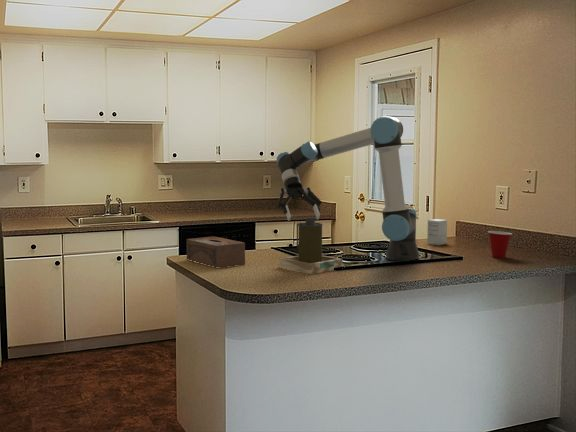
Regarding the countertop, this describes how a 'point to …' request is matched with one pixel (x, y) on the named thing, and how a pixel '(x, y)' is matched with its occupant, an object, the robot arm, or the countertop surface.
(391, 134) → the robot arm
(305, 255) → the canister
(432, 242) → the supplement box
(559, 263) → the countertop surface
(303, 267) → the square tray
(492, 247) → the plastic cup
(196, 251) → the tissue box cover
